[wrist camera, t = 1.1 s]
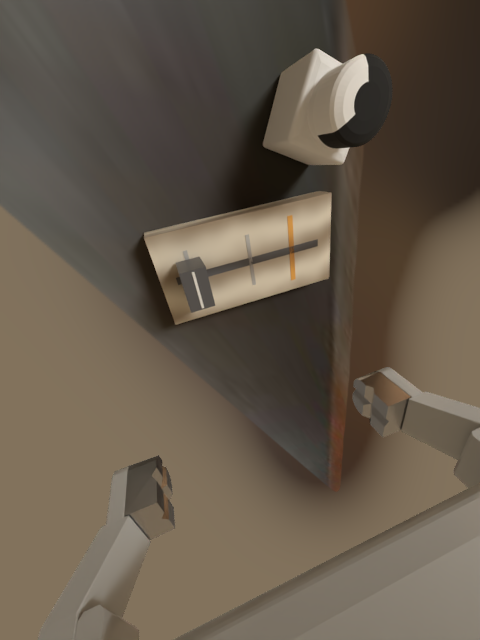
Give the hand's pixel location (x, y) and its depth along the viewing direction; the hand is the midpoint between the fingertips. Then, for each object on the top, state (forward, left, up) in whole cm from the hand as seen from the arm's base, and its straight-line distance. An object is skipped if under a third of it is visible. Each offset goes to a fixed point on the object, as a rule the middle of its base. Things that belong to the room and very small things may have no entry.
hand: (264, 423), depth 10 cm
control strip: (+3, +8, -29) cm, 30 cm away
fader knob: (+3, 0, -25) cm, 25 cm away
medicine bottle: (-11, +17, -29) cm, 35 cm away
